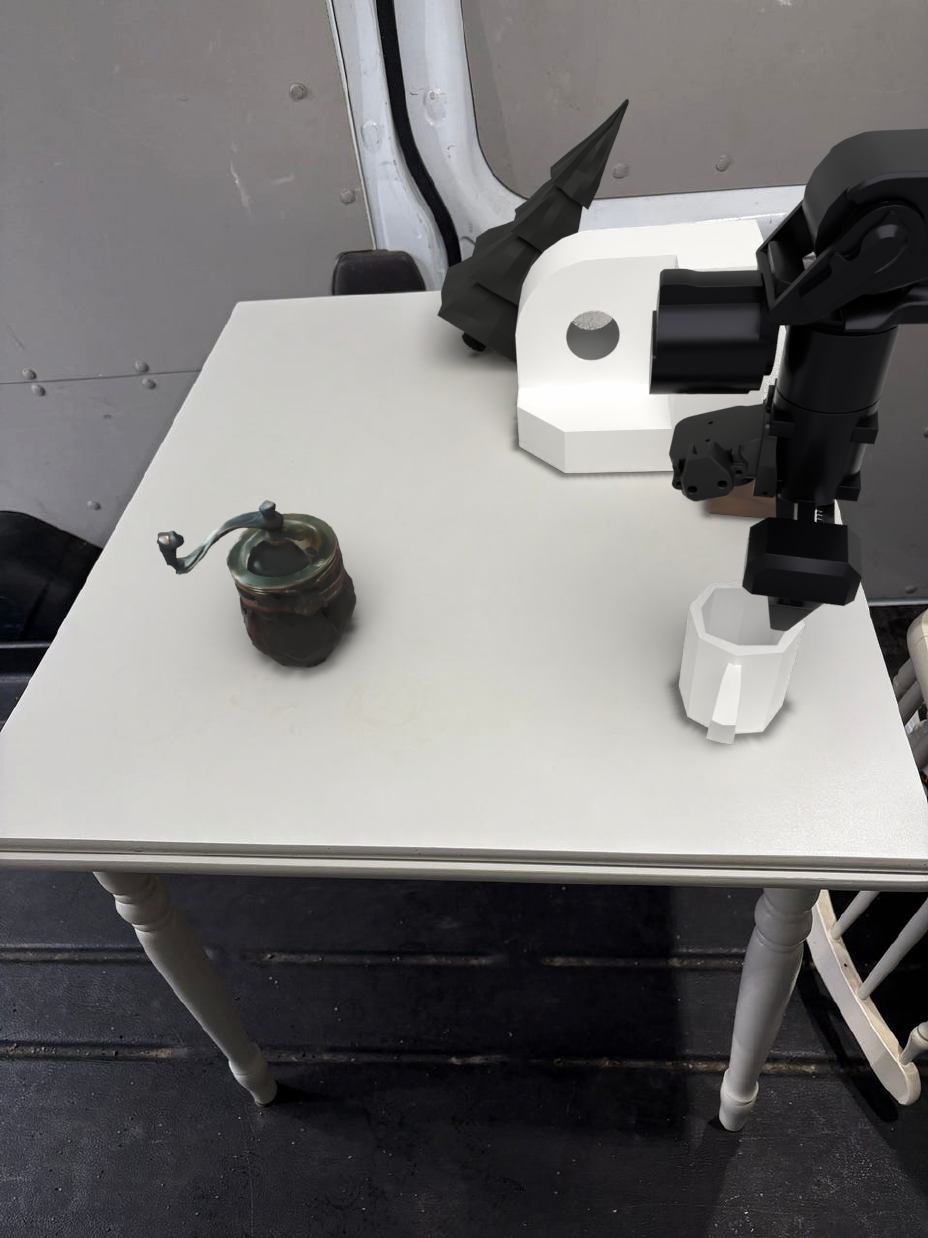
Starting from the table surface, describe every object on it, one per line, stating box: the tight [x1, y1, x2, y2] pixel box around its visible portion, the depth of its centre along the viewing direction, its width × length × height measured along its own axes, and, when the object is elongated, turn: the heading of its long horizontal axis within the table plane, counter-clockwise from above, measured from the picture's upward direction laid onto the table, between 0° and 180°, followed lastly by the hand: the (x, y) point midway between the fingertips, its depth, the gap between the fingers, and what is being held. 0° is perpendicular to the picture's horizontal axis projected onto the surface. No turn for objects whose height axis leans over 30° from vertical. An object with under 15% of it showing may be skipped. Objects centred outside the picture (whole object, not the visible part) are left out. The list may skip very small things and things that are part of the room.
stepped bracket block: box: [515, 218, 767, 474], centre depth 93 cm, size 26×17×20 cm, turn 84°
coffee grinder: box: [156, 499, 358, 668], centre depth 74 cm, size 13×15×18 cm
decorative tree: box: [436, 98, 630, 365], centre depth 106 cm, size 15×15×35 cm
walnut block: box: [708, 479, 776, 519], centre depth 88 cm, size 7×7×6 cm
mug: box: [678, 580, 806, 745], centre depth 67 cm, size 12×9×10 cm
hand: (781, 582), depth 59 cm, fingers open, 9 cm apart
